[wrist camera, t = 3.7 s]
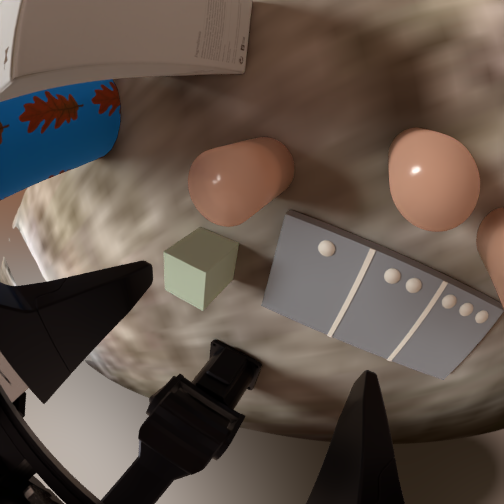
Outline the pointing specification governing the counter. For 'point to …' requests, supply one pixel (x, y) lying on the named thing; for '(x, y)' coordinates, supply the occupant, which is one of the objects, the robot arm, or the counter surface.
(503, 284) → the peach colored egg
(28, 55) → the skincare box
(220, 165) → the glossy pink ovoid
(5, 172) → the thermos
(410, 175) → the salmon pink egg
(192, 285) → the pale green block
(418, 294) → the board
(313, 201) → the counter surface
